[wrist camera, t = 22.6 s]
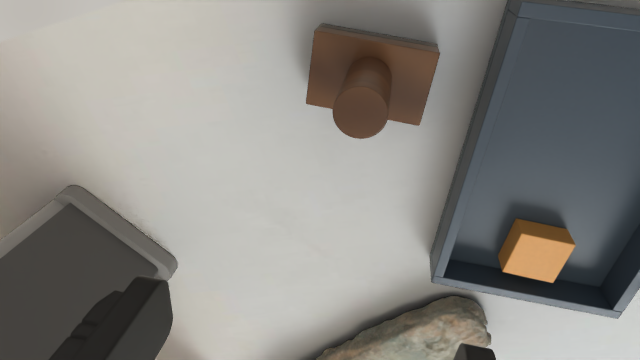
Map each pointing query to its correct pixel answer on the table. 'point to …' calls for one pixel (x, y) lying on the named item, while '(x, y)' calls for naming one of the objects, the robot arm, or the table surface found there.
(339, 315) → the table surface
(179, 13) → the table surface
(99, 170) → the table surface
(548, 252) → the orange squat block
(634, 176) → the tray
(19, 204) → the table surface
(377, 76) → the rubber stamp
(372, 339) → the elongated rock
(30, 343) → the alarm clock
